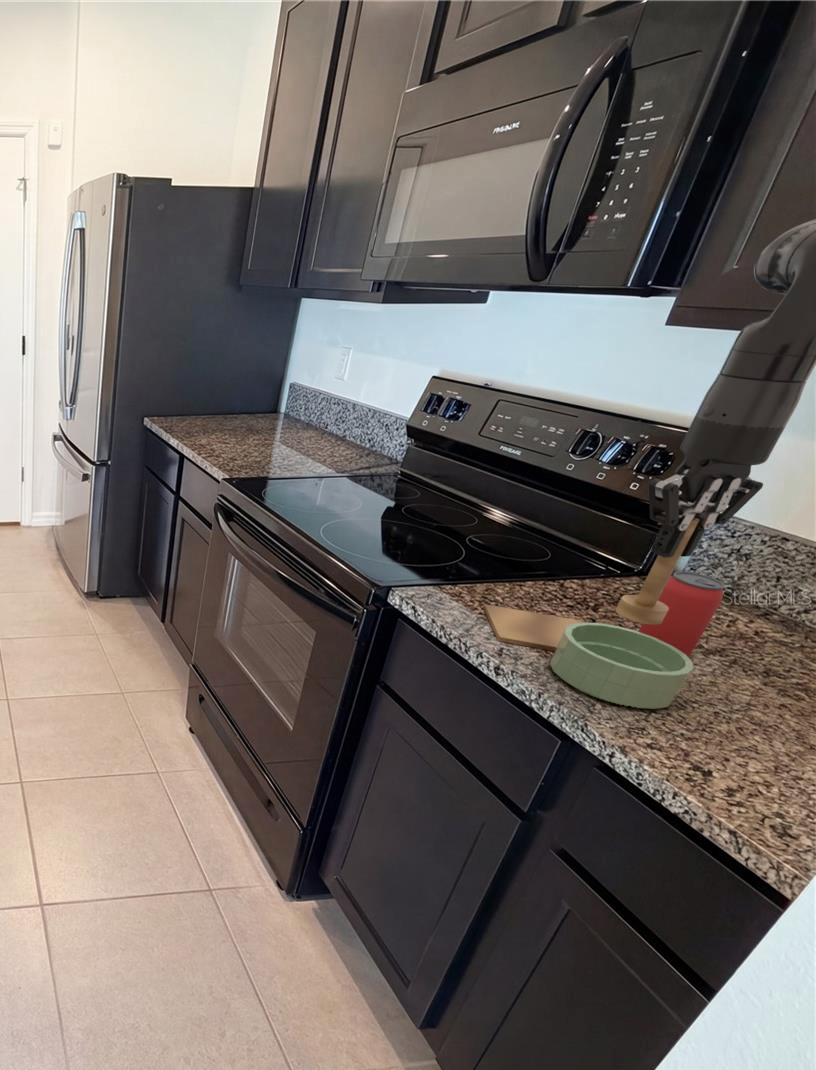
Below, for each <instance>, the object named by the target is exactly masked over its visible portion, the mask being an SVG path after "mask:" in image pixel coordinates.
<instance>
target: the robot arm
mask: <svg viewBox="0 0 816 1070" xmlns="http://www.w3.org/2000/svg"><path fill="white" fill-rule="evenodd" d="M753 276H754V279H755V281H756V282H757V283H758V285H759V286H760V287H761V288H762V289H765V290H767V291H769V292H771V293H775V294H778V295H779V294H780V295H784V296H783V297H782V299H781V300H780V302H779V303H778V304H777V306H776V307H775V308H774V309H773V311H772V312H771V313H770V315H769V316H768V317H766V318H764V319H758V320H755V321H752V322H750V323H748V324H747V325H745V326H744V327H743V328H742V329H741V330H740V331H739V332H738V334H737V336H736V338H735V340H734V341H733V344H732V345H731V346H730V349H729V352H728V354H727V355H726V358H725V360H724V362H723V364H722V366H721V368H720V370H719V373H718V374H717V376H716V377H715V379H714V380H713V382H712V383H711V385H710V386H709V388H708V389H707V391H706V393H705V395H704V397H703V399H702V401H701V403H700V405H699V407H698V409H697V411H696V413H695V415H694V417H693V420H692V422H691V423H690V426H689V428H688V430H687V431H686V434H685V435H684V438H683V440H682V442H681V444H680V446H679V451H680V453H682V454H683V455H684V459H683V461H682V463H681V464H680V465H679V466H678V467H677V468H676V469H675V471H674V473H673V475H672V476H670V477H668V478H665V479H664V480H661V479H660V478H659V479H658V478H654V479H652V480H651V481H650V482H649V484H648V502H649V503H648V504H649V519H650V520H652V521H654V522H656V523H659V524H660V525H661V527H660V529H659V531H658V533H657V535H656V537H655V539H654V541H653V544H652V546H651V552H652V553H653V554H654V555H657V556H658V555H659V556H662V557H672V556H673V555H674V554H675V552H676V550H677V548H678V546H679V544H680V542H681V540H682V538H683V536H684V534H685V532H686V531H684V530H685V529H687V528H688V526H689V524H690V523H691V521H692V519H693V518H694V517H695V518H697V519H699V522H698V524H697V526H696V528H695V530H694V532H693V534H692V536H691V538H690V539H689V541H688V543H687V545H686V547H685V549H684V551H683V553H682V555H681V557H691V556H692V555H693V552H694V551H695V550H696V548H697V547H698V544H699V543H700V541H701V539H702V537H703V536H704V533H705V532H706V531H708V530H710V529H712V528H713V527H714V526H715V525H716V524H718V525H721V526H722V525H725V524H726V523H728V522H729V521H730V520H731V519H732V518H733V517H734V516H735V515H736V514H737V513H738V512H739V511H740V510H741V509H742V508H743V507H744V506H745V505H746V504H747V503H748V502H749V501H751V499H753V497H754V496H756V494H758V492H760V491H761V490H762V489H763V487H764V483H763V482H761V481H759V480H755V479H752V478H751V477H750V475H751V471H752V466H758V465H762V464H764V463H766V462H767V461H768V460H769V458H770V456H771V454H772V452H773V450H774V448H775V446H776V444H777V443H778V441H779V440H780V438H781V436H782V434H783V433H784V430H785V429H786V427H787V425H788V423H789V421H790V420H791V417H792V416H793V414H794V412H795V410H796V409H797V407H798V404H799V402H800V400H801V397H802V394H803V391H804V389H805V387H806V385H807V381H808V380H809V379H810V377H811V375H812V373H813V371H814V370H815V367H816V218H815V219H812V220H809V221H806V222H804V223H801V224H799V225H796V226H794V227H792V228H790V229H789V230H786V231H785V232H783V233H781V234H780V235H779V236H777V237H776V238H775V239H773V240H772V241H770V243H768V245H766V246H765V248H763V249H762V251H761V253H759V255H758V257H757V259H756V261H755V264H754V267H753ZM680 511H682V512H683V513H682V514H681V515H682V516H681V518H680V519H679V515H680Z"/></svg>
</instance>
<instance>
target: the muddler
mask: <svg viewBox="0 0 816 1070" xmlns="http://www.w3.org/2000/svg"><path fill="white" fill-rule="evenodd" d="M681 516H682V514H681V515H680V514H679V519H680V518H681ZM698 522H699V519H697V518H695V517H694V518H693V519H692V521H691V523H690V524H689V526H688V528H687V529H685V530H684V531H686V532H685V534H684V536H683V538H682V540H681V542H680V544H679V546H678V548H677V550H676V552H675V554H674V555H673V556H672V557H662V556H659V555H657V557H656V559H655V561H654V562H653V564H652V566H651V568H650V570H649V572H648V574H647V576H646V579H645V580H644V582H643V584H642V586H641V588H640V589H639V590H640V591H639V592H638V594H624V595H622V596H621V598H620V599H619V602H618V604H617V606H616V608H615V613H616V614H617V615H619V616H621V617H623V618H624V619H626V620H630V621H632V622H635V623H639V624H642V623H644V624H651V625H656V624H661V623H662V621H663V619H664V618H665V616H666V614H667V612H668V610H669V607H668V606H667V605H665V604H664V603H662V602H660V601H658V599H659V597H660V595H661V593H662V591H663V589H664V587H665V585H666V583H667V581H668V580H669V578H671V577H672V575H673V573H674V570H675V568H676V567H677V564H678V562H679V561H680V558H681V557H682V556H681V555H682V553H683V551H684V549H685V547H686V545H687V543H688V541H689V539H690V538H691V536H692V534H693V532H694V530H695V528H696V526H697V524H698Z"/></svg>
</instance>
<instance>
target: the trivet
mask: <svg viewBox="0 0 816 1070" xmlns="http://www.w3.org/2000/svg"><path fill="white" fill-rule="evenodd" d="M482 609H483V611H484V613H485V616H486V618H487V620H488V623H489V624H490V627H491V630H492V632H493V634H494V636H495V637H496V639H497V641H498V642H501V643H508V644H513V645H518V646H522V647H523V646H524V647H528V648H534V649H538V650H539V649H540V650H545V651H551V652H554V651H555V649H556V647H557V645H558V643H559V641H560V639H561V636H562V634H563V632H564V630H565V628H566V627H567V626H569V625H571V624H575V623H583V622H585V621H584V620H580V619H574V618H568V617H562V616H557V615H550V614H545V613H540V612H533V611H527V610H522V609H517V608H510V607H503V606H497V605H492V604H487V603H484V604H483V606H482Z"/></svg>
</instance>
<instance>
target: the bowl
mask: <svg viewBox="0 0 816 1070" xmlns="http://www.w3.org/2000/svg"><path fill="white" fill-rule="evenodd" d="M638 631H639V630H638ZM638 631H637V630H634V629H630V628H626V627H622V626H619V625H613V624H606V623H600V622H588V621H587V622H585V621H584V622H583V623H575V624H571V625H569V626H567V627H566V628H565V630H564V632H563V634H562V636H561V639H560V641H559V643H558V645H557V647H556V649H555V651H553V653H552V656H551V658H550V662H549V665H550V668H551V670H552V671H553V673H555V675H557V676H558V677H559V678H560V679H561V680H562V681H564V682H566V683H567V684H568V685H569V686H572V687H573V688H574V689H576V690H578V691H580V692H582V693H584V694H586V695H589V696H591V697H593V698H595V697H596V698H595V699H598V698H599V699H598V700H601V701H604V702H608V703H610V702H611V704H614V703H615V705H618V704H619V705H618V706H622V705H624V706H623V707H628V706H631V707H630V708H635V707H636V708H637V709H648V710H650V709H651V710H656V709H657V710H658V709H663V708H668V707H669V706H671V705H672V704H673V703H674V702H675V701H676V699H677V697H678V696H679V694H680V692H681V691H682V689H683V688H684V685H686V683H687V681H688V679H689V678H690V675H691V674H692V672H693V671H694V662H693V661H692V660H691V659H690V658H689V656H686V654H684V653H683V652H681V651H680V650H678V649H677V648H675V647H673V646H672V645H670V644H667V643H665V642H663V641H661V640H659V639H657V638H655V637H652V636H649V635H646V634H643V633H641V632H638Z"/></svg>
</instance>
